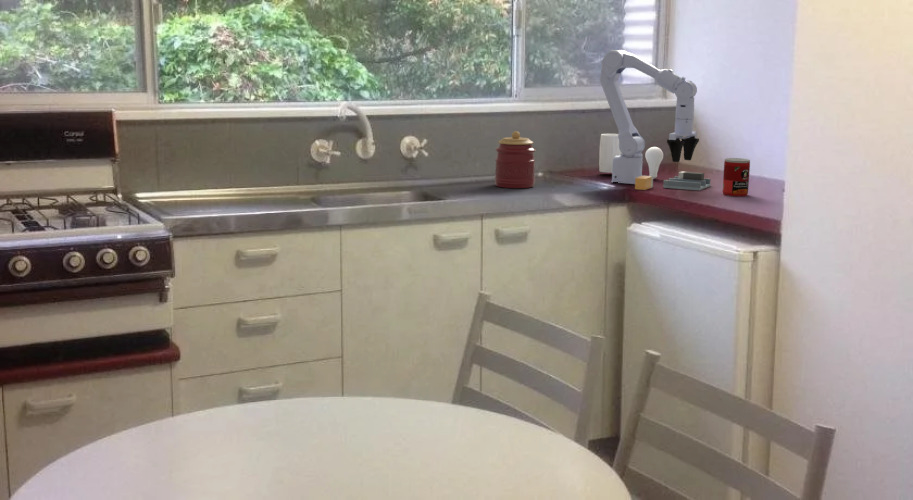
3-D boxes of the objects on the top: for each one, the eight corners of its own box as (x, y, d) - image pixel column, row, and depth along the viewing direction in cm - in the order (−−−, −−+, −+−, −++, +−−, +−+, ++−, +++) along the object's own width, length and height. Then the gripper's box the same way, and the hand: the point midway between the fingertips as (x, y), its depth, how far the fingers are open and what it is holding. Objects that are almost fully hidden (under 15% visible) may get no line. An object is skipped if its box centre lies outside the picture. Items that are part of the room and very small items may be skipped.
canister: (513, 182, 358) (514, 128, 355) (543, 186, 349) (544, 131, 346) (486, 185, 349) (487, 130, 346) (515, 189, 340) (517, 133, 337)
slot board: (663, 187, 350) (663, 180, 350) (674, 183, 361) (674, 176, 361) (699, 190, 345) (700, 183, 344) (710, 186, 356) (710, 178, 355)
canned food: (734, 197, 331) (736, 161, 329) (716, 193, 338) (718, 158, 336) (753, 195, 335) (755, 160, 333) (735, 192, 342) (738, 157, 340)
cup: (624, 176, 378) (625, 135, 375) (599, 176, 378) (601, 135, 375) (620, 173, 386) (622, 133, 383) (597, 173, 386) (598, 133, 383)
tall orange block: (645, 190, 345) (645, 178, 344) (634, 189, 346) (635, 177, 346) (652, 187, 351) (653, 176, 351) (642, 186, 353) (642, 175, 352)
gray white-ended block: (703, 183, 355) (704, 172, 354) (700, 185, 352) (701, 173, 351) (681, 182, 358) (681, 171, 358) (678, 183, 355) (678, 172, 355)
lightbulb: (664, 178, 374) (666, 146, 372) (658, 180, 369) (659, 148, 367) (648, 177, 377) (649, 145, 375) (641, 178, 372) (642, 146, 370)
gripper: (684, 120, 342) (681, 163, 345) (706, 118, 353) (703, 160, 355) (664, 119, 346) (662, 161, 349) (687, 117, 357) (684, 158, 360)
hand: (681, 161), depth 353 cm, fingers open, 7 cm apart
